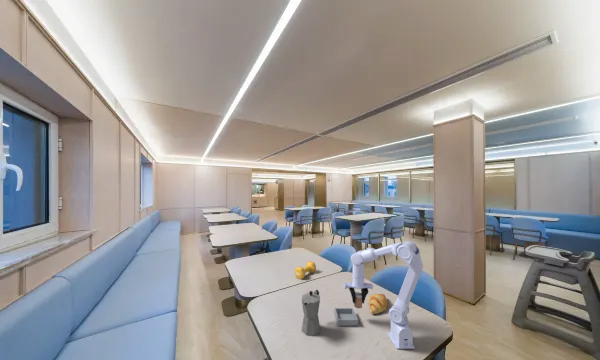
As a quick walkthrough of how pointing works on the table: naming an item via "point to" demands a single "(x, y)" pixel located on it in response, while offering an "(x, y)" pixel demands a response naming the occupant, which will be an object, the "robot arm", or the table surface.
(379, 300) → the croissant
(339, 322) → the bin
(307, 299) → the coffeepot
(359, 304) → the shaker
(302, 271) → the dumbbell
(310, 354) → the table surface
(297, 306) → the table surface
